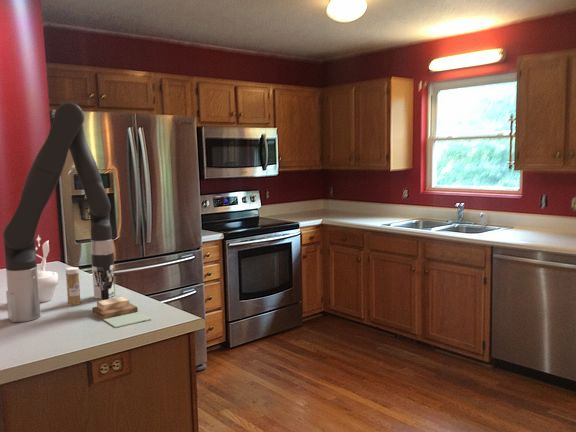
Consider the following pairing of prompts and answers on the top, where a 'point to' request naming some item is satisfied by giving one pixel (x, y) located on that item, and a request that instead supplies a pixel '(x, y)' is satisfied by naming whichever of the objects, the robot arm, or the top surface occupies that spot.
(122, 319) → the rubber mat
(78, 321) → the top surface
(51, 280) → the potted plant
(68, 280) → the sprinkles bottle
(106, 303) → the maple tile
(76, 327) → the top surface
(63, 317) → the top surface
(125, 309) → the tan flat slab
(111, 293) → the syrup box
